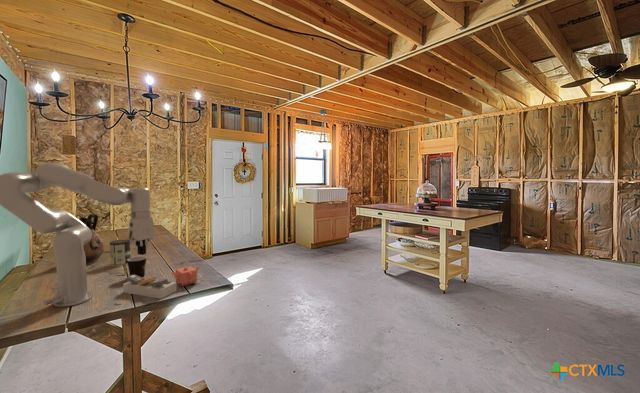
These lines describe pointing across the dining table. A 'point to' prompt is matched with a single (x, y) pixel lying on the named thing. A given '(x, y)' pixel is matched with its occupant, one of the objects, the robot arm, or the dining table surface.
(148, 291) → the power strip
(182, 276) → the teapot
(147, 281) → the rocker
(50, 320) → the dining table surface
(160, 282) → the rocker
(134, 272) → the coffee mug
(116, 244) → the coffee can
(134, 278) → the rocker
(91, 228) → the ceramic jug
